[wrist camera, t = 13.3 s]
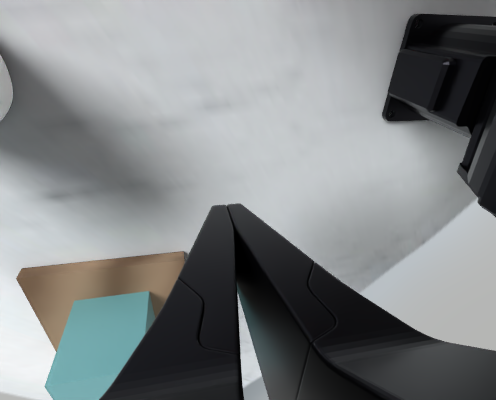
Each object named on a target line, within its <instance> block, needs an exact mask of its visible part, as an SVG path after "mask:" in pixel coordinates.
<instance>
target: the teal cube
mask: <svg viewBox="0 0 496 400" xmlns="http://www.w3.org/2000/svg"><path fill="white" fill-rule="evenodd" d="M154 320H155V315H154V311H153V306H152V302H151V297H150V292H149V291H145V292H138V293H130V294H122V295H115V296H107V297H99V298H92V299H84V300H76V301H74V303H73V306H72V309H71V312H70V314H69V317H68V320H67V323H66V326H65V329H64V332H63V335H62V338H61V341H60V343H59V346H58V349H57V352H56V355H55V358H54V361H53V364H52V367H51V370H50V372H49V375H48V378H47V381H46V384H45V388H46V389H47V391H48V392H49V394H50V395H51V397H52V398H53V400H99V399H100V398H101V397H102V395H103V394H104V393H105V392H106V391H107V389H108V388H109V387H110V386H111V384H112V383H113V381H114V380H115V378H116V377H117V376H118V374H119V373H120V371H121V370H122V368H123V367H124V365H125V364H126V362H127V361H128V359H129V358H130V356H131V355H132V353H133V352H134V350H135V349H136V347H137V346H138V344H139V343H140V341H141V340H142V338H143V337H144V335H145V334H146V332H147V331H148V329H149V328H150V326H151V325H152V323H153V321H154Z"/></svg>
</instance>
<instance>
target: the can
mask: <svg viewBox="0 0 496 400" xmlns="http://www.w3.org/2000/svg"><path fill="white" fill-rule="evenodd" d="M12 100H13V87H12V82H11V78H10V75H9V72H8V70H7V67H6V65H5V63H4V61H3V59H2V57H1V55H0V121H1V120H2V119H3V118H4V117H5V115H6V114H7V112H8V110H9V108H10V106H11V103H12Z"/></svg>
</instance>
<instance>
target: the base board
mask: <svg viewBox="0 0 496 400" xmlns="http://www.w3.org/2000/svg"><path fill="white" fill-rule="evenodd" d="M184 263H185V260H184V252H174V253H165V254H155V255H146V256H136V257H127V258H117V259H108V260H98V261H89V262H79V263H70V264H61V265H51V266H42V267H32V268H23V269H21V271H20V273H19V274H18V276H17V278H16V279H17V281H18V283H19V285H20V286H21V288H22V290H23V292H24V294H25V296H26V297H27V299H28V301H29V303H30V305H31V307H32V308H33V310H34V312H35V314H36V316H37V317H38V319H39V321H40V323H41V325H42V327H43V328H44V330H45V332H46V334H47V336H48V338H49V339H50V341H51V343H52V345H53V347H54V348H55V350H56V352H57V349H58V346H59V343H60V341H61V338H62V335H63V332H64V329H65V326H66V323H67V320H68V317H69V314H70V312H71V309H72V306H73V303H74V301H76V300H84V299H92V298H99V297H107V296H115V295H122V294H130V293H138V292H145V291H149V292H150V297H151V302H152V306H153V311H154V315H155V318H156V317H157V315H158V313H159V312H160V310H161V309H162V307H163V305H164V303H165V301H166V299H167V298H168V296H169V294H170V292H171V290H172V288H173V286H174V284H175V282H176V280H177V278H178V276H179V274H180V272H181V270H182V268H183V265H184Z"/></svg>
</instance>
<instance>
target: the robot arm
mask: <svg viewBox="0 0 496 400" xmlns="http://www.w3.org/2000/svg"><path fill="white" fill-rule="evenodd" d="M417 20H418V21H419V22H418V25H417V26H416V27H415V23H416V21H417ZM492 24H493V26H492ZM391 111H392V113H391V115H390V116H389V113H390V112H391ZM382 116H383V118H384V119H385V120H387V121H413V120H432V121H434V122H436V123H438V124H440V125H443V126H445V127H447V128H449V129H451V130H453V131H456V132H458V133H460V134H462V135H464V136H466V137H469V138H470V141H469V144H468V147H467V150H466V153H465V155H464V158H463V161H462V163H460V164H459V167H458V170H457V173H458V174H459V175H460V176H461V178H462V179H463V180H464V181H465V182H466V184H467V185H468V186H469V187H470V188H471V190H472V191H473V192H474V193H475V195H476V196H477V197H478V203H479V205H480V206H482V208H484V209H486V210H487V211H488V212H490V213H492V214H493V215H494V216H495V217H496V17H485V16H461V15H437V14H414V15H413V16H411V18H410V19H409V21H408V23H407V26H406V30H405V34H404V37H403V41H402V44H401V48H400V52H399V53H398V57H397V60H396V64H395V68H394V71H393V75H392V78H391V82H390V86H389V89H388V95H387V98H386V102H385V105H384V109H383V113H382ZM237 291H238V294H239V298H240V301H241V305H242V308H243V312H244V315H245V318H246V322H247V325H248V329H249V332H250V336H251V339H252V342H253V346H254V349H255V353H256V356H257V360H258V363H259V366H260V370H261V373H262V377H263V380H264V383H265V387H266V390H267V394H268V397H269V400H496V351H493V350H487V349H481V348H476V347H471V346H464V345H459V344H453V343H449V342H444V341H441V340H438V339H434V338H432V337H429V336H427V335H425V334H423V333H421V332H419V331H417V330H415V329H413V328H412V327H410V326H409V325H407V324H405V323H404V322H402V321H401V320H399V319H398V318H396V317H394V316H393V315H391V314H390V313H388V312H387V311H385V310H384V309H382V308H380V307H379V306H377V305H376V304H374V303H373V302H371V301H369V300H368V299H366V298H365V297H363V296H362V295H360V294H359V293H357V292H356V291H354V290H353V289H351V288H350V287H348V286H347V285H345V284H344V283H342V282H341V281H340V280H338V279H337V278H336V277H334V276H333V275H332V274H330V273H329V272H328V271H326V270H325V269H324V268H322V267H321V266H320V265H319V264H317V263H314V261H313V260H312V259H311V258H309V257H308V256H307V255H306V254H304V253H303V252H302V251H300V250H299V249H298V248H297V247H295V246H294V245H293V244H292V243H290V242H289V241H288V240H286V239H285V238H284V237H283V236H281V235H280V234H279V233H278V232H276V231H275V230H274V229H272V228H271V227H270V226H269V225H267V224H266V223H265V222H263V221H262V220H261V219H260V218H258V217H257V216H256V215H255V214H253V213H252V212H251V211H249V210H248V209H247V208H246V207H244V206H243V205H242V204H229V205H227V206H226V205H215V206H212V208H211V210H210V212H209V214H208V216H207V218H206V220H205V222H204V224H203V226H202V228H201V230H200V232H199V234H198V237H197V239H196V241H195V243H194V245H193V247H192V249H191V251H190V253H189V255H188V257H187V259H186V261H185V263H184V265H183V268H182V270H181V272H180V274H179V276H178V278H177V280H176V282H175V284H174V286H173V288H172V290H171V292H170V294H169V296H168V298H167V299H166V301H165V303H164V305H163V307H162V309H161V310H160V312H159V313H158V315H157V317H156V318H155V320H154V321H153V323H152V325H151V326H150V328H149V329H148V331H147V332H146V334H145V335H144V337H143V338H142V340H141V341H140V343H139V344H138V346H137V347H136V349H135V350H134V352H133V353H132V355H131V356H130V358H129V359H128V361H127V362H126V364H125V365H124V367H123V368H122V370H121V371H120V373H119V374H118V376H117V377H116V378H115V380H114V381H113V383H112V384H111V386H110V387H109V388H108V389H107V391H106V392H105V393H104V394H103V395H102V397H101V398H100V399H99V400H244V396H243V387H242V374H241V359H240V337H239V317H238V297H237Z"/></svg>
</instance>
